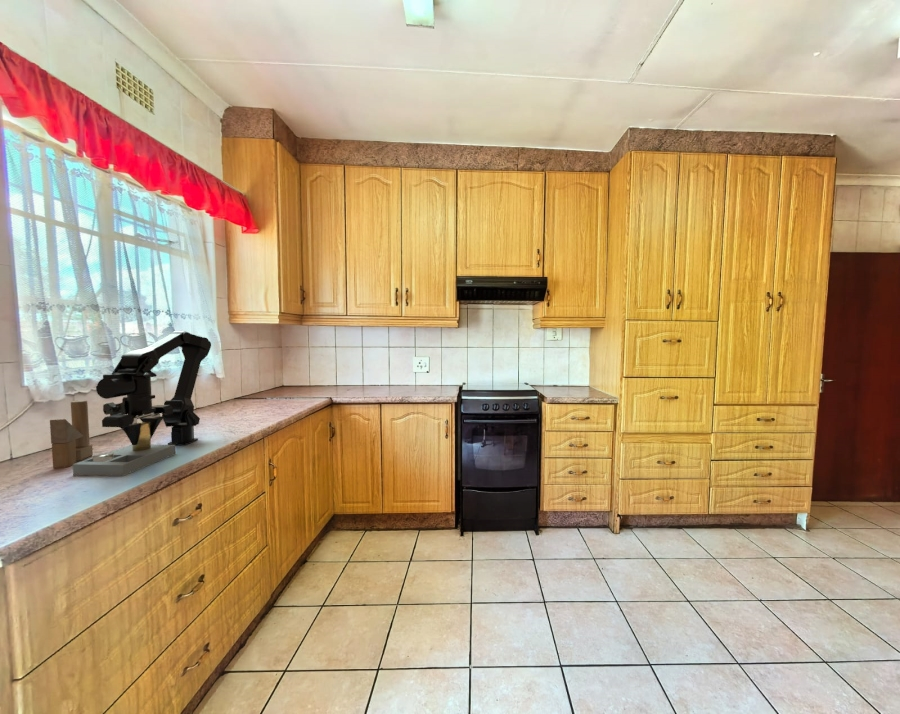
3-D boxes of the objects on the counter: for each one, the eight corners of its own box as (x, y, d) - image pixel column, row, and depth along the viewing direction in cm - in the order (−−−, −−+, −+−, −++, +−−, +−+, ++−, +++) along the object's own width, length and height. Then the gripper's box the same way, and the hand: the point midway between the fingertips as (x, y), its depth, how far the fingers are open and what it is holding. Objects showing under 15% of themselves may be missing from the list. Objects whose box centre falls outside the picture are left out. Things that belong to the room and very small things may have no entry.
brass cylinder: (141, 446, 112) (140, 421, 112) (154, 446, 112) (153, 422, 112) (128, 451, 108) (127, 425, 107) (142, 451, 108) (141, 425, 107)
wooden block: (52, 468, 101) (48, 406, 100) (79, 456, 112) (75, 400, 111) (68, 467, 103) (64, 406, 101) (93, 455, 113) (90, 399, 112)
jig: (133, 453, 115) (133, 444, 115) (175, 453, 115) (175, 444, 114) (73, 475, 97) (72, 464, 97) (123, 475, 97) (122, 465, 96)
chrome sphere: (104, 465, 104) (103, 452, 104) (118, 466, 104) (118, 452, 104) (88, 471, 100) (87, 457, 99) (103, 471, 100) (103, 457, 99)
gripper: (140, 388, 118) (143, 433, 119) (81, 397, 100) (84, 452, 101) (173, 388, 118) (175, 434, 119) (120, 398, 100) (122, 452, 101)
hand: (141, 442), depth 110 cm, fingers closed on brass cylinder, 4 cm apart
